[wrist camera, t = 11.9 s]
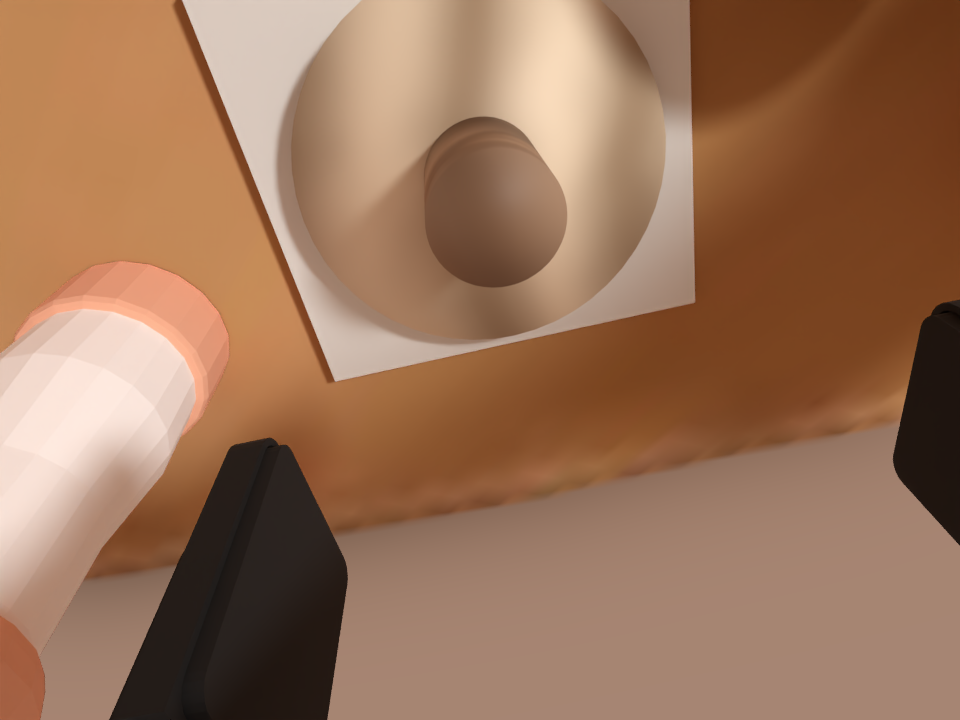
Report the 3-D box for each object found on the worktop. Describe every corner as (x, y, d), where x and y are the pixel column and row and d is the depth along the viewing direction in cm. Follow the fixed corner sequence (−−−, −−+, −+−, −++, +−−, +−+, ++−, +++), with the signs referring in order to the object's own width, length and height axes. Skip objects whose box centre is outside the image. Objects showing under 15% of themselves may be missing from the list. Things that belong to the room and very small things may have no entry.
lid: (644, -89, 20) (723, -114, 15) (663, 288, 28) (720, 360, 22) (235, 11, 21) (172, 22, 15) (361, 355, 28) (348, 442, 23)
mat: (680, -133, 20) (686, -135, 20) (690, 297, 29) (695, 302, 28) (183, -11, 21) (178, -11, 20) (336, 374, 29) (335, 381, 29)
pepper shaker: (131, 226, 25) (-419, 690, 9) (264, 349, 28) (52, 847, 12) (17, 324, 27) (-617, 862, 10) (156, 428, 30) (-158, 957, 14)
